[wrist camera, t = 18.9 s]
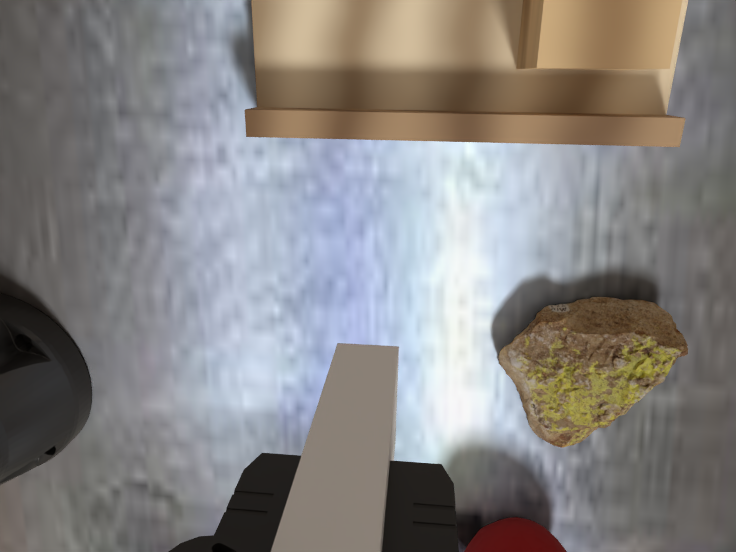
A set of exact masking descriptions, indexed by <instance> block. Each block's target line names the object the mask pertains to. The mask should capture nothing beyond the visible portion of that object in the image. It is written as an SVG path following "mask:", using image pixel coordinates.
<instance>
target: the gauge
mask: <svg viewBox="0 0 736 552" xmlns="http://www.w3.org/2000/svg"><path fill="white" fill-rule="evenodd" d="M681 5H682V0H523V6H522V16H521V27H520V37H519V47H518V58H517V68H516V69H567V70H645V69H670V64H671V59H672V54H673V48H674V43H675V38H676V32H677V27H678V22H679V16H680V11H681Z"/></svg>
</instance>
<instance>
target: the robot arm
mask: <svg viewBox="0 0 736 552" xmlns="http://www.w3.org/2000/svg"><path fill="white" fill-rule="evenodd" d="M398 352H399V347H397V346H379V345H361V344H343V343H338V344H337V347H336V350H335V353H334V356H333V359H332V362H331V365H330V369H329V372H328V375H327V378H326V381H325V384H324V387H323V390H322V393H321V397H320V400H319V403H318V406H317V409H316V412H315V415H314V418H313V422H312V425H311V428H310V431H309V434H308V437H307V440H306V443H305V446H304V450H303V453H302V456H297V455H284V454H270V453H262V454H260V455H259V456H258V457H257V458H256V459H255V460H254V461H253V462H252V463H251V464H250V465H249V466H248V467H246V468H245V469H244V471H243V473H242V475H241V477H240V480H239V482H238V484H237V486H236V488H235V491H234V495H232V497H231V499H230V501H229V504H228V506H227V510H226V512H224V515H223V517H222V519H221V521H220V523H219V526H218V528H217V530H216V532H215V534H214V536H200V537H197V538H194V539H191V540H189V541H186V542H183V543H180V544H179V545H177V546H176V547H175V548H173V549H172V550H170V551H169V552H459V550H458V536H457V522H456V511H455V495H454V484H453V482H452V480H451V479H450V477H449V476H448V474H447V472H446V471H445V469H444V468H443V466H442V464H430V463H416V462H403V461H394V451H395V436H396V408H397V380H398ZM91 404H92V387H91V381H90V377H89V373H88V370H87V368H86V365H85V363H84V360H83V358H82V356H81V355H80V353H79V351H78V349H77V348H76V346H75V345H74V343H73V342H72V341H71V339H70V338H69V337H68V336H67V335H66V333H65V332H64V331H63V330H62V329H61V328H60V327H59V326H58V325H57V324H56V323H55V322H53V321H52V320H51V319H50V318H49V317H47V316H46V315H45V314H43V313H42V312H40V311H39V310H37V309H36V308H34V307H32V306H31V305H29V304H27V303H25V302H23V301H21V300H18V299H16V298H13V297H10V296H7V295H4V294H0V485H1V484H3V483H5V482H7V481H9V480H11V479H13V478H15V477H17V476H19V475H21V474H23V473H25V472H27V471H29V470H31V469H33V468H35V467H37V466H39V465H41V464H43V463H45V462H47V461H49V460H50V459H52V458H53V457H55V456H56V455H57V454H59V453H60V452H61V451H62V450H63V449H64V448H65V447H66V446H67V445H68V444H69V443H70V442H71V441H72V440H73V439H74V438H75V437H76V436H77V435H78V433H79V432H80V431H81V430H82V428H83V427H84V425H85V423H86V421H87V419H88V417H89V414H90V410H91Z"/></svg>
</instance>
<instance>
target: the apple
mask: <svg viewBox="0 0 736 552" xmlns="http://www.w3.org/2000/svg"><path fill="white" fill-rule="evenodd" d="M464 552H567V551H566V550H565V549H564V548H563V546H562V545H561V544H560V542H559V541H558V540H557V539H556V538H555V537H554V536H553V535H552V534H551V533H550V532H549V531H548V530H547V529H546V528H545V527H543V526H541V525H540V524H538V523H536V522H534V521H532V520H528V519H524V518H518V517H513V518H506V519H502V520H498V521H496V522H493V523H491V524H489V525H486V526H484V527H483V528H481V529H480V530H479V531H478V532H477V534H476V535H475V536H474V538H473V539H472V540H471V541H470V543H469V544H468V546H467V548H466V550H465V551H464Z"/></svg>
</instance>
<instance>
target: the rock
mask: <svg viewBox="0 0 736 552" xmlns="http://www.w3.org/2000/svg"><path fill="white" fill-rule="evenodd" d="M687 354H688V348H687V343H686V341H685V339H684V337H683V335H682V334H681V333H680V332H679V331H678V330H677V329H676V324H675V323H674V322H673V319H672V316H671V315H670V314H669V313H668V312H666V311H665V310H663V309H662V308H660V307H659V306H658V305H657V304H655V303H653V302H648V301H644V300H632V299H629V300H620V299H616V298H610V297H591V298H590V299H581V300H577V301H575V302H573V303H568V304H558V305H549V306H546V307H544V308H543V309H542V310H541V311H540V312H538V313H537V315H536V318H535V319H534V320H533V321H532V322H531V323H530V324H529V325H528V327H527V328H526V329H524V330H523V332H522V333H520V334H519V335H517V336H516V337H515V338H514V340H513V341H512V343H510V344H508V345H506V346H505V347H503V348H502V349H501V351H500V354H499V356H498V357H499V359H498V360H499V364H500V365H501V366H502V367H503V369H504V370H505V371H506V374H507V375H508V376H509V377H510V378H511V379H512V380H513V382H514V384H515V385H516V387H517V391H518V392H519V394H520V396H521V400H522V403H523V408H524V410H525V412H526V414H527V419H528V423H529V425H530V427H531V428H532V430H533V431H534V433H535V434H536V435H537V436H538V437H540V438H542V439H543V440H545V441H546V442H548V443H550V444H552V445H554V446H558V447H566V446H569V445H574V444H576V443H580V442H582V441H583V440H584V439H585V438H587V437H588V436H589V435H590V434H591V433H592V432H593V431H594V430H596V429H597V428H598V427H599V428H606V427H608V426H610V425H611V422H612V421H614V420H615V419H616V418H617V417H618V416H620V415H624V414H626V413H627V411H628V410H629V409H630V408H631V407H632V406H633V404H634V403H636V402H639V400H641V398H643V397H644V396H645V395H646V394H647V393H648V392H649V391H650V390H652V388H653V387H654V386H656V385H658V384H660V383H662V382H664V380H665V377H666V375H667V374H668V372H669V370H670V368H671V367H672V365H673V364H674V363H675V361H676V359H677V358H678V357H681V356H685V355H687Z"/></svg>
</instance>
